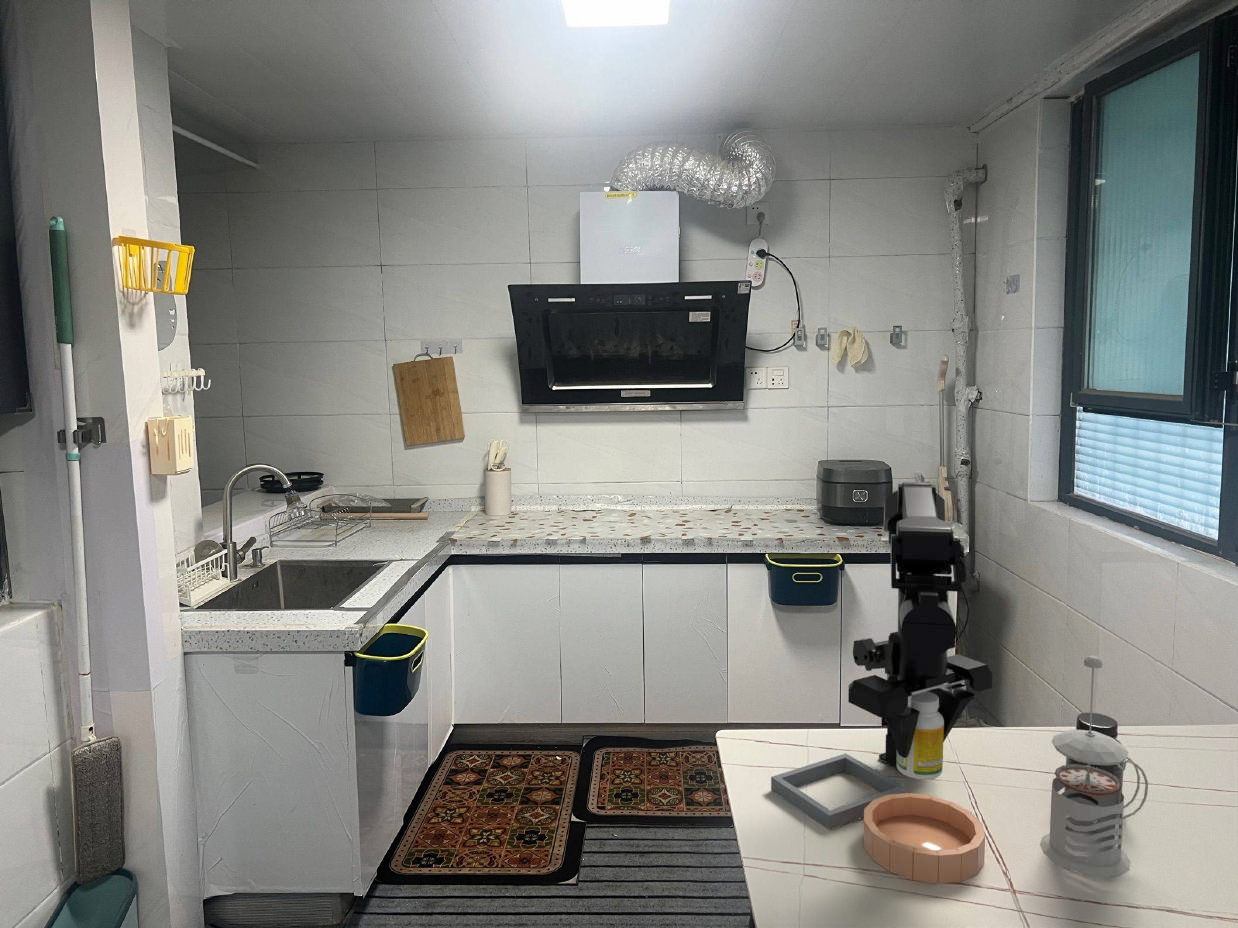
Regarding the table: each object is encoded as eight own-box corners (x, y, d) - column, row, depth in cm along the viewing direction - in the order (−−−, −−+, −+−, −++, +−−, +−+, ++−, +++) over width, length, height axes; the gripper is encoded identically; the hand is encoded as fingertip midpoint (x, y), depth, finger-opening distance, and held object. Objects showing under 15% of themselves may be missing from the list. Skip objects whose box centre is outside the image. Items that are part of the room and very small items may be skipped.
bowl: (918, 807, 115) (919, 783, 115) (1008, 860, 103) (1009, 833, 103) (840, 837, 109) (840, 811, 108) (926, 896, 96) (927, 867, 96)
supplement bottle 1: (888, 771, 105) (890, 696, 104) (908, 756, 109) (909, 684, 108) (931, 785, 101) (933, 708, 100) (950, 769, 105) (951, 694, 104)
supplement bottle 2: (1057, 804, 115) (1060, 720, 114) (1072, 785, 120) (1075, 704, 119) (1114, 822, 111) (1118, 734, 109) (1127, 801, 116) (1131, 717, 114)
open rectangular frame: (845, 765, 128) (845, 753, 127) (907, 801, 117) (907, 787, 117) (771, 789, 121) (771, 776, 121) (829, 829, 111) (829, 815, 110)
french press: (1025, 830, 109) (1032, 642, 106) (1117, 830, 109) (1127, 641, 106) (1063, 877, 100) (1071, 671, 96) (1164, 876, 99) (1176, 670, 96)
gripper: (926, 600, 114) (923, 712, 116) (817, 623, 106) (817, 742, 108) (997, 622, 104) (993, 743, 106) (883, 648, 96) (881, 779, 98)
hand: (920, 750), depth 105 cm, fingers closed on supplement bottle 1, 5 cm apart
